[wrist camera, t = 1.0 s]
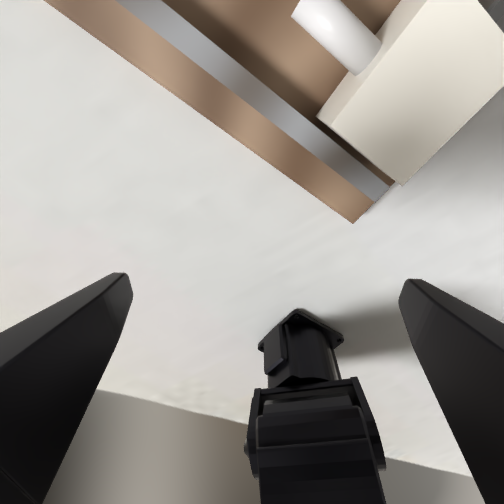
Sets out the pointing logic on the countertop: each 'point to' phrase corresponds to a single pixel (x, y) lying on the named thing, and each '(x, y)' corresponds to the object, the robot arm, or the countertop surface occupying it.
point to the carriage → (408, 75)
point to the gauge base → (250, 79)
